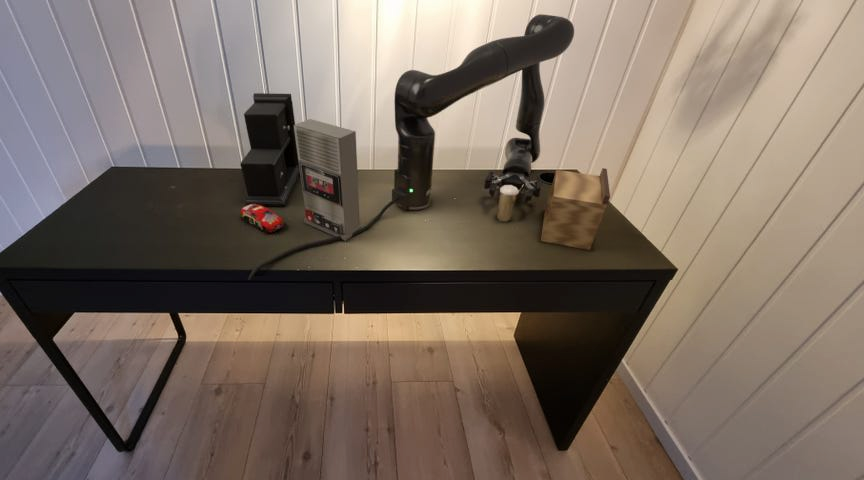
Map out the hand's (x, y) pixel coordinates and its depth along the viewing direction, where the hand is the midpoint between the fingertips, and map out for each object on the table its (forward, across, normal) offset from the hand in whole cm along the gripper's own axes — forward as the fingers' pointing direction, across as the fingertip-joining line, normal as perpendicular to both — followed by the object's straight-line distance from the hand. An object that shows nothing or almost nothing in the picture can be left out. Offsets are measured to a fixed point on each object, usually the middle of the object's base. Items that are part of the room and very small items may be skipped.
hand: (509, 196), depth 103 cm
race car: (+25, -58, +6) cm, 63 cm away
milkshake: (+1, 0, +6) cm, 6 cm away
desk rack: (+1, +15, +6) cm, 16 cm away
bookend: (+6, -66, +6) cm, 66 cm away
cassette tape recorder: (+21, -40, +6) cm, 46 cm away
